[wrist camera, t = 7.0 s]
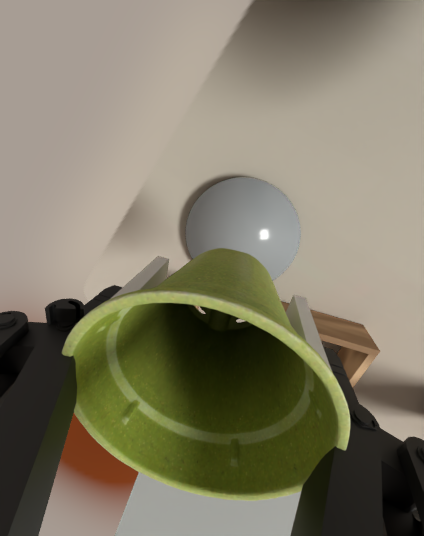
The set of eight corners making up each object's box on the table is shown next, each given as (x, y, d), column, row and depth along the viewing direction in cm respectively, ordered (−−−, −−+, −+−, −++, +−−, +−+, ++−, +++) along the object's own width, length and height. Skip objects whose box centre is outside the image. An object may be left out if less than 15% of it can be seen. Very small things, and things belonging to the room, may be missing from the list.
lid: (104, 561, 18) (105, 563, 19) (370, 669, 16) (363, 668, 17) (168, 395, 30) (167, 399, 30) (327, 448, 28) (323, 451, 29)
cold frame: (199, 277, 30) (183, 307, 24) (363, 325, 29) (392, 369, 22) (182, 352, 36) (166, 391, 30) (317, 395, 35) (329, 445, 28)
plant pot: (132, 270, 16) (10, 371, 8) (244, 184, 12) (217, 218, 4) (212, 361, 18) (176, 510, 10) (329, 310, 14) (411, 484, 7)
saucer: (198, 164, 25) (196, 164, 24) (318, 193, 24) (320, 194, 23) (180, 269, 30) (178, 272, 29) (276, 296, 29) (276, 300, 28)
